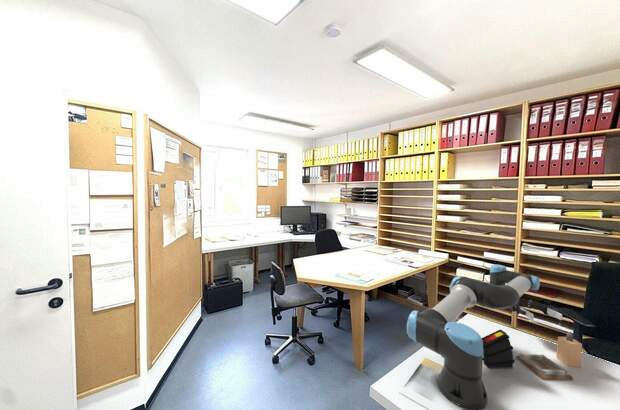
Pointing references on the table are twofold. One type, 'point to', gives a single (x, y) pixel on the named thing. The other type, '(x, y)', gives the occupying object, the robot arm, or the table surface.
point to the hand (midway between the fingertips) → (547, 317)
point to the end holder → (544, 367)
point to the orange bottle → (569, 350)
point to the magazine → (497, 350)
